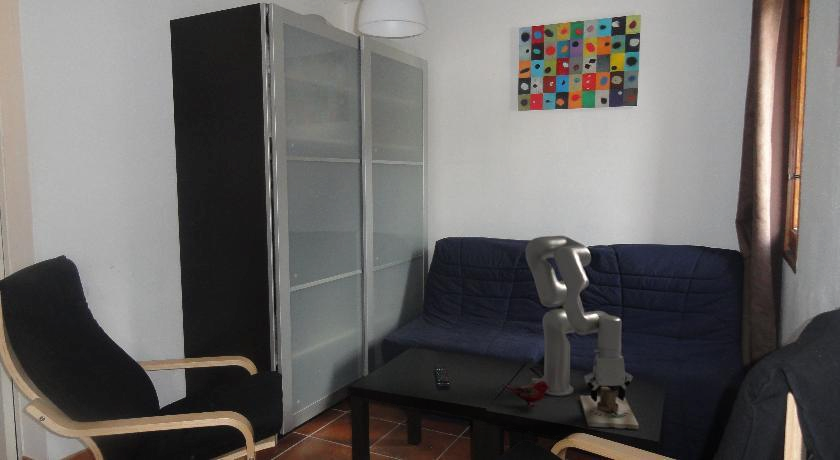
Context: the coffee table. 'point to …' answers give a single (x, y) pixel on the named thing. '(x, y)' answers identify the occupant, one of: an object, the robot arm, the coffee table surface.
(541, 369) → the phone
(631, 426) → the dial board
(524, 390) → the decorative bird figurine
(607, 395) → the knob
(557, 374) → the robot arm
